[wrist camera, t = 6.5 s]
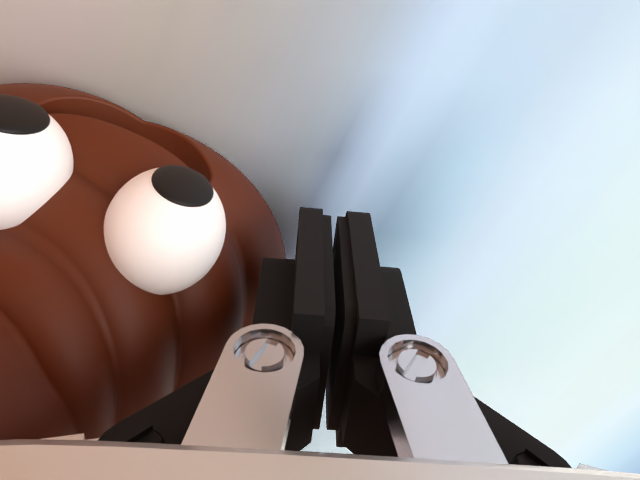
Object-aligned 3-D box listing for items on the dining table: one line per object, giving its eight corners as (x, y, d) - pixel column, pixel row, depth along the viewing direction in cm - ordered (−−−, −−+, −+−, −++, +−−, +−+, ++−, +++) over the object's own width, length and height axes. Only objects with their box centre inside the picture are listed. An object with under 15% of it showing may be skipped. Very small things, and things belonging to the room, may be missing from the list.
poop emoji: (-83, 272, 15) (-519, 642, 7) (-54, -12, 11) (-918, 117, 3) (230, 376, 18) (158, 745, 10) (344, 169, 14) (381, 501, 6)
